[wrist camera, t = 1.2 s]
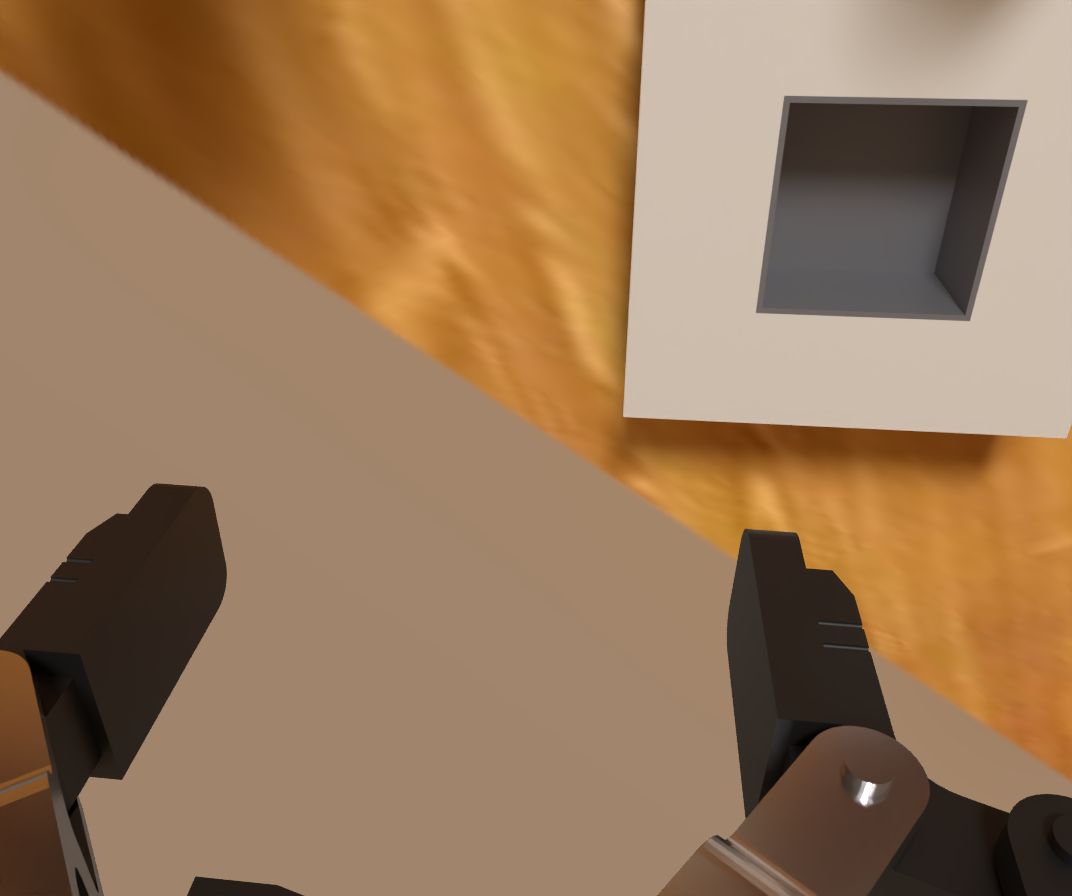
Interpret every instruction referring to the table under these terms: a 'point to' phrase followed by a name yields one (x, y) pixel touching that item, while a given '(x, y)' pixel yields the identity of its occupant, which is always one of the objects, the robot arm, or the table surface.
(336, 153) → the table surface
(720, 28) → the socket block
